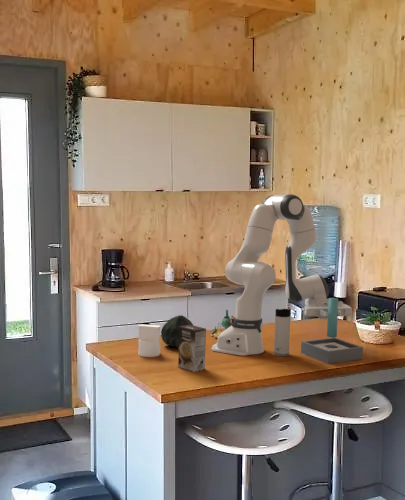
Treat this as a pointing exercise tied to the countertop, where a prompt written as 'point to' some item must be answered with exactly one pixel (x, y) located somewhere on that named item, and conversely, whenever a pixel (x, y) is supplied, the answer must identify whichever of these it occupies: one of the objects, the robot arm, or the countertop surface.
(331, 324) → the peg
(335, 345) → the plate
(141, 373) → the countertop surface
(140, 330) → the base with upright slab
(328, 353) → the box
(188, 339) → the coffee box
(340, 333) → the countertop surface
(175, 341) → the squash
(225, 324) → the frog figurine
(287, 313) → the travel mug
